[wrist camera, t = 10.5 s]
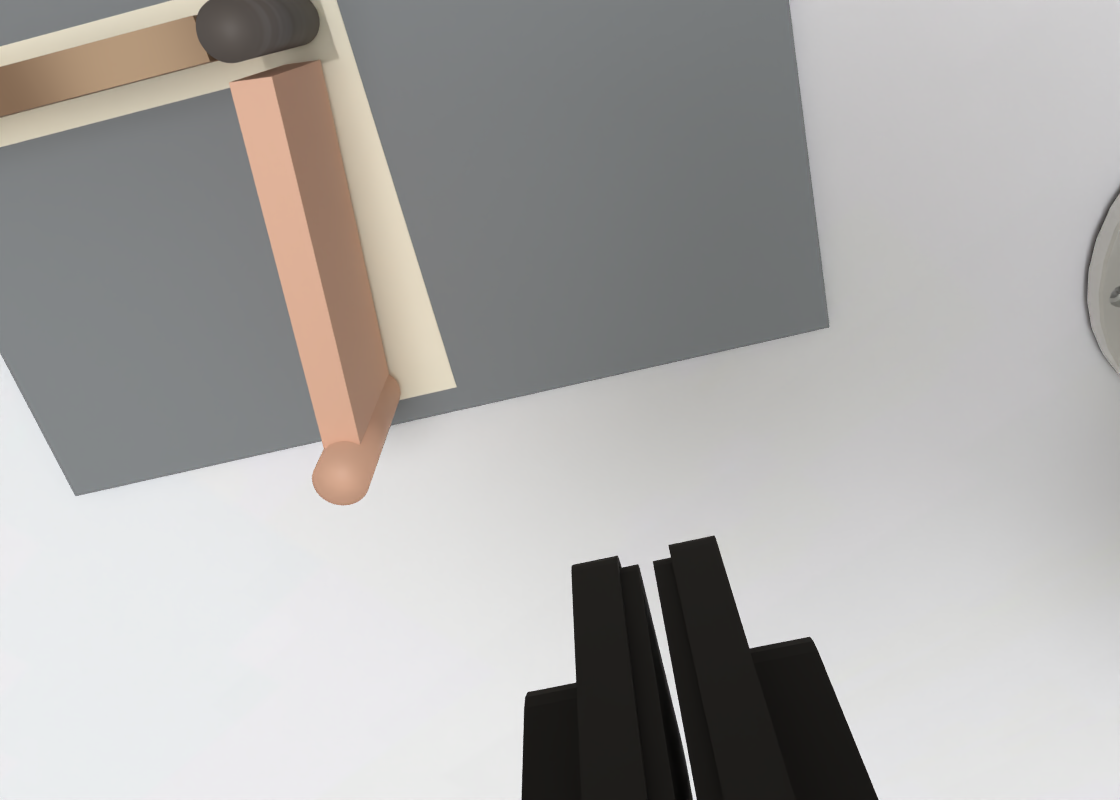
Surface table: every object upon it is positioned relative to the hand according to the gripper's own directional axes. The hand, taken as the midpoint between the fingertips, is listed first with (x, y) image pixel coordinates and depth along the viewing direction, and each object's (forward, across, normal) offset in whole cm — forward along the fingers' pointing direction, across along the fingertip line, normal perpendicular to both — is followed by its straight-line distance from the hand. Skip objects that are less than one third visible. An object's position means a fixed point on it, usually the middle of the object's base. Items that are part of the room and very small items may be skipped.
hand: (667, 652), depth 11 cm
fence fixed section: (+25, +15, -8) cm, 30 cm away
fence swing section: (+24, +9, 0) cm, 26 cm away
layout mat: (+25, +8, -4) cm, 27 cm away
